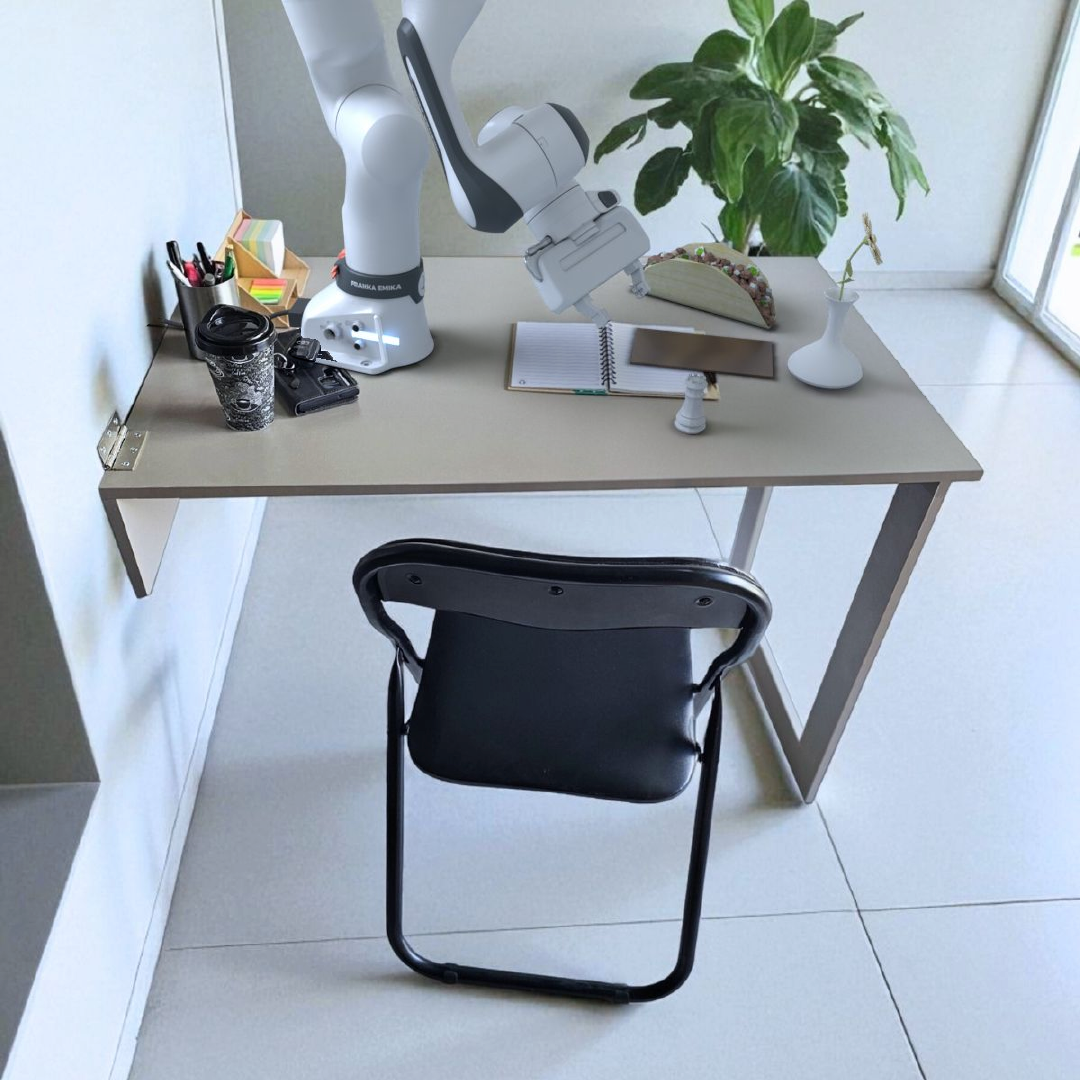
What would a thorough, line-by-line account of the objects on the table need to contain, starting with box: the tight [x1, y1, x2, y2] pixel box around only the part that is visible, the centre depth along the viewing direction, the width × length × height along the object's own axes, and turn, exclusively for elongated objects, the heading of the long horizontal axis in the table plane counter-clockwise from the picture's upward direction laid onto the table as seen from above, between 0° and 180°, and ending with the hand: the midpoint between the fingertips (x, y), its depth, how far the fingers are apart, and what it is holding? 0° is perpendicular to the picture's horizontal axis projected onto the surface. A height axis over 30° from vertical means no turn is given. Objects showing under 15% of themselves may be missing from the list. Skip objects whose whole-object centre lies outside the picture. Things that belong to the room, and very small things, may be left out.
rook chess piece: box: [673, 372, 709, 435], centre depth 146 cm, size 4×4×8 cm
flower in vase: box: [786, 211, 884, 390], centre depth 154 cm, size 13×11×25 cm
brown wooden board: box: [629, 327, 774, 380], centre depth 166 cm, size 22×12×1 cm, turn 81°
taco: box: [629, 242, 777, 330], centre depth 177 cm, size 10×27×10 cm, turn 58°
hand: (625, 309), depth 142 cm, fingers open, 8 cm apart
